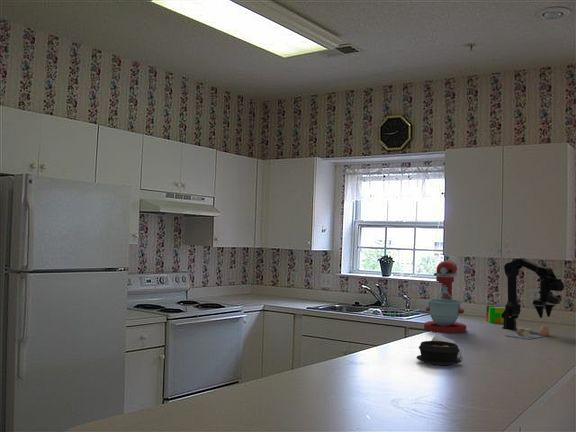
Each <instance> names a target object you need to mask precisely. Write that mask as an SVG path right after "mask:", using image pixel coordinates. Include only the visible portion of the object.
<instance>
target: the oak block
mask: <svg viewBox="0 0 576 432" xmlns="http://www.w3.org/2000/svg"><path fill="white" fill-rule="evenodd" d="M516 328H517V329H516V330H517V331H516V333H517V336H524V337H527V336H530V335H531V328H527V327H516Z"/></svg>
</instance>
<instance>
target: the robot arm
mask: <svg viewBox="0 0 576 432" xmlns="http://www.w3.org/2000/svg"><path fill="white" fill-rule="evenodd" d="M503 267H504V274H505V275H506V277H507V302H506V304H505V306H504V307H505V311H504V312H503V313H502V314H501V317H502V318H504V324H503V326H502V329H505V330H506V329H507V330H517V328H518V327H517V320H518V319H519V316H520V313H521V312H522V310H521V307H522V306H521V304H518V303H519V302H517V301H518V299H517V294H518V293H517V277H518V275H519V274H520V269H522V268H526V269H527V270H530V271H531V272H534V273H535V274H536V275H537V277H539V278H538V279H537V280H536V282H539V290H538V294H539V298H538V299H533V300H532V305H533V307H534V309H535V310H536V313H537V314H538V316H539V318H540V319H542V318H543V316H544V309H545V313H546V316H547V317H550V316H551V314H552V312H553V308H554V307H556V306H557V305H560V304H561V302H562V301H563V298H562V295H561V294H557V295H554V292H562V291H564V289H565V284H564V282H563V281H562V279H561V278H557V277H556V275H555V272H554V271H553V268H552V267H548V266H541V265H538V264H537V263H534V262H532V261H530V260H528V259H526V258H524V257H523V258H522V257H519V258H517V259H514V260H512V261H510V262H507V263H505V264H504V266H503ZM553 291H554V292H553Z"/></svg>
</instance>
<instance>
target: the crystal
mask: <svg viewBox="0 0 576 432" xmlns="http://www.w3.org/2000/svg"><path fill="white" fill-rule="evenodd" d="M430 341H444V342H450V343H454V344H456V345H457V346H458V349H459V350H460V351H459V352H458V356H461V357H462V356H463V352H462V350H461V348H460V345H459V344H458V343H457V342H456V341H454V340H452V339H450V338H447V337H445V336H442V335H440V334H439V333H438V334H436V335H434V336H433V337H432V339H431V340H430Z"/></svg>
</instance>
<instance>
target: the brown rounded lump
mask: <svg viewBox="0 0 576 432" xmlns="http://www.w3.org/2000/svg"><path fill="white" fill-rule="evenodd" d="M539 336H543V337H550V326H547V325H546V326H545V325H541V326H540V333H539Z"/></svg>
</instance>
